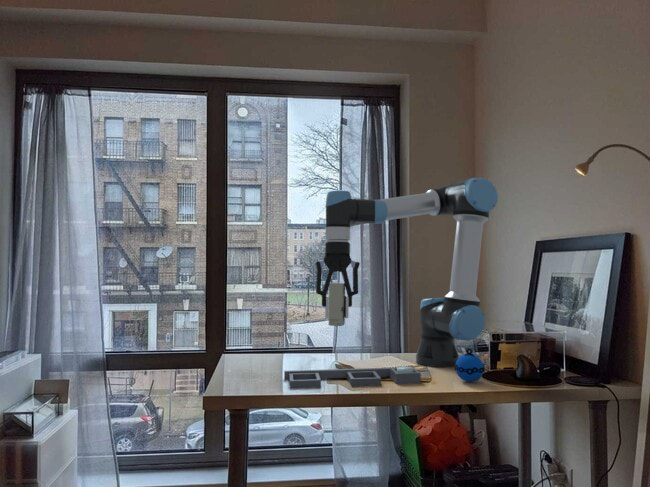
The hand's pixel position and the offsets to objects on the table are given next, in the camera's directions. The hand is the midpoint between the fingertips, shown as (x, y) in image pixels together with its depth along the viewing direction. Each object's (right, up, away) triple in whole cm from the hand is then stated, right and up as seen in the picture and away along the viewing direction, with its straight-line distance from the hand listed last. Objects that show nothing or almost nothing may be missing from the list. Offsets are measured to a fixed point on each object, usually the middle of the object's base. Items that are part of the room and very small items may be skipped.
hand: (336, 317), depth 148 cm
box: (0, -2, 0) cm, 2 cm away
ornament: (+40, -20, 0) cm, 45 cm away
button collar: (+21, -20, +2) cm, 29 cm away
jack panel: (+3, -20, +1) cm, 20 cm away
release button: (+21, -18, +2) cm, 28 cm away
